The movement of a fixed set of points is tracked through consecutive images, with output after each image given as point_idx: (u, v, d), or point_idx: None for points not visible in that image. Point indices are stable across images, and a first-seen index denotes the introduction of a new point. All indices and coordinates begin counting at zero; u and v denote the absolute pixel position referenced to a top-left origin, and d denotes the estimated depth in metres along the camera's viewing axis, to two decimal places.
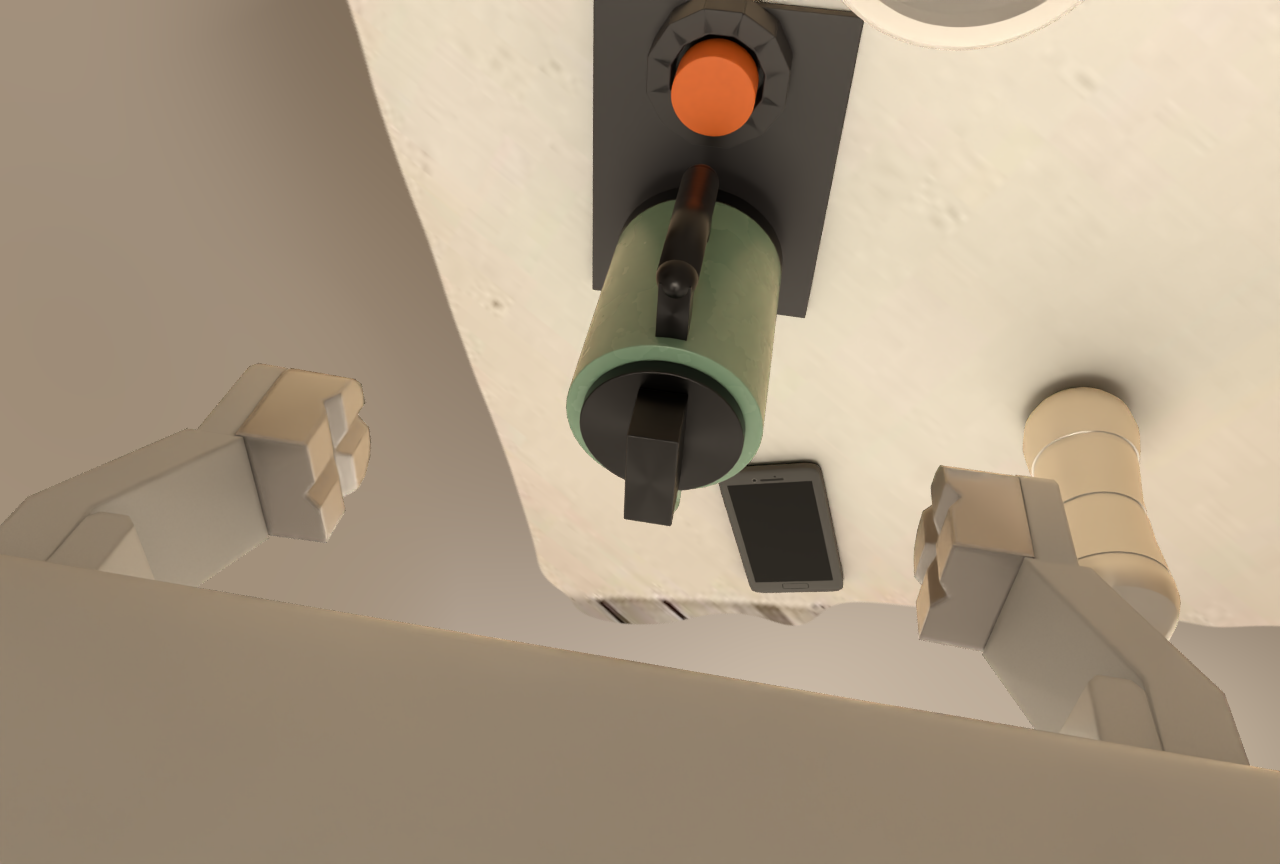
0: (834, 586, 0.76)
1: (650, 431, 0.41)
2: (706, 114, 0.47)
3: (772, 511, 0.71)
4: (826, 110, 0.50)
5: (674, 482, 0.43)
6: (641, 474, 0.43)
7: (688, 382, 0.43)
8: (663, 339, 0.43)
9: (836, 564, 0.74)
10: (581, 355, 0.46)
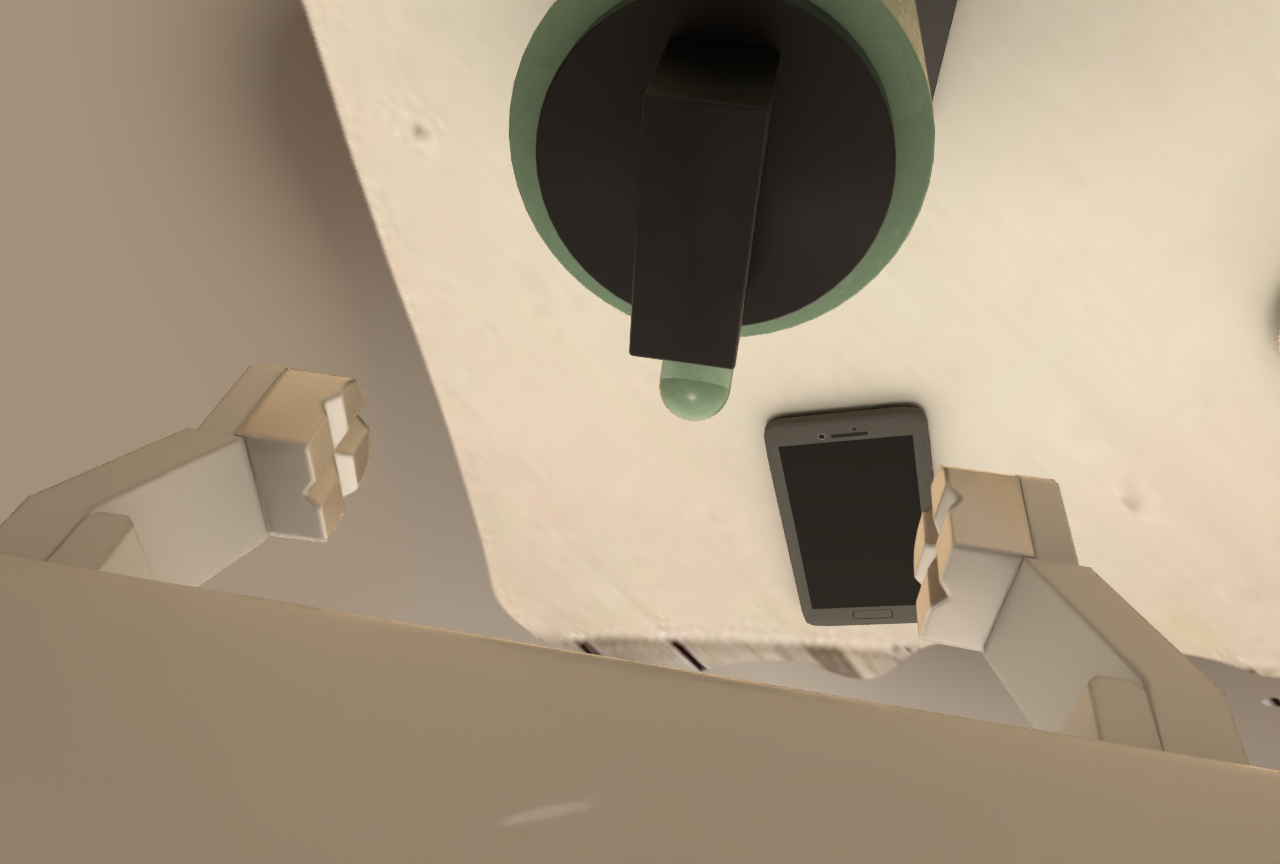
0: None
1: (700, 91, 0.17)
2: None
3: (846, 490, 0.47)
4: None
5: (750, 241, 0.18)
6: (674, 219, 0.18)
7: (781, 11, 0.19)
8: None
9: None
10: None
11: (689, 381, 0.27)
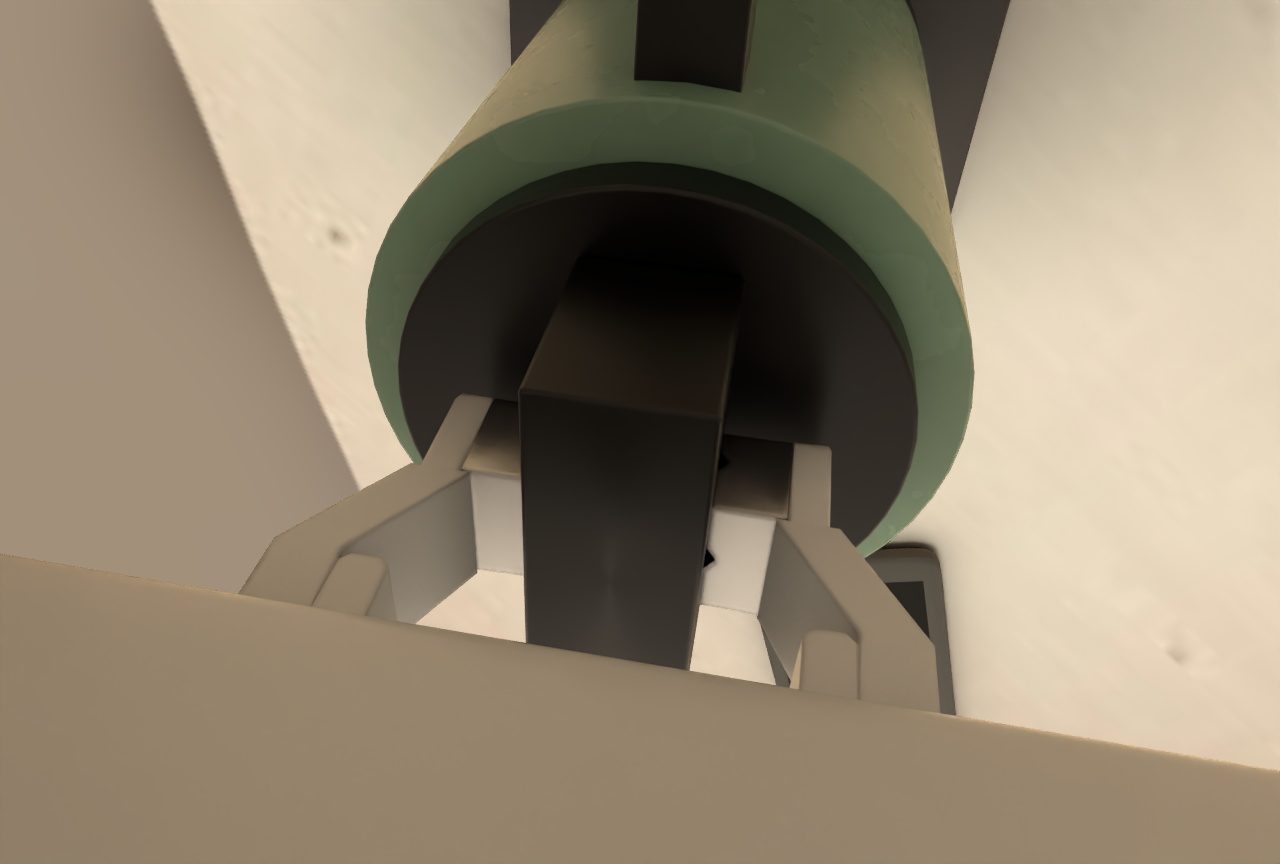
0: None
1: (610, 378, 0.11)
2: None
3: None
4: None
5: (697, 580, 0.12)
6: (579, 549, 0.12)
7: (746, 224, 0.12)
8: (661, 84, 0.12)
9: None
10: None
11: None
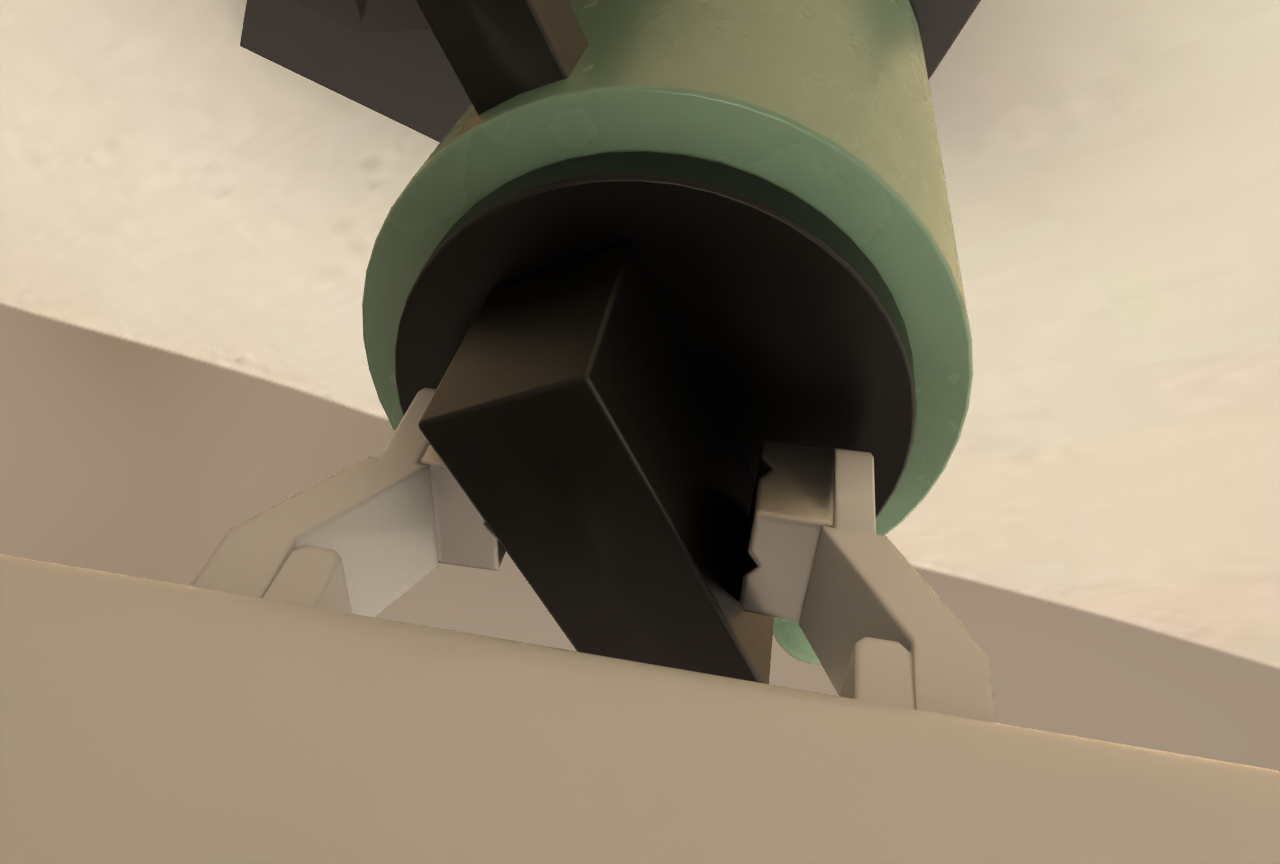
0: None
1: (494, 381, 0.11)
2: None
3: None
4: None
5: (679, 541, 0.12)
6: (561, 552, 0.12)
7: (605, 191, 0.12)
8: (496, 106, 0.13)
9: None
10: None
11: None
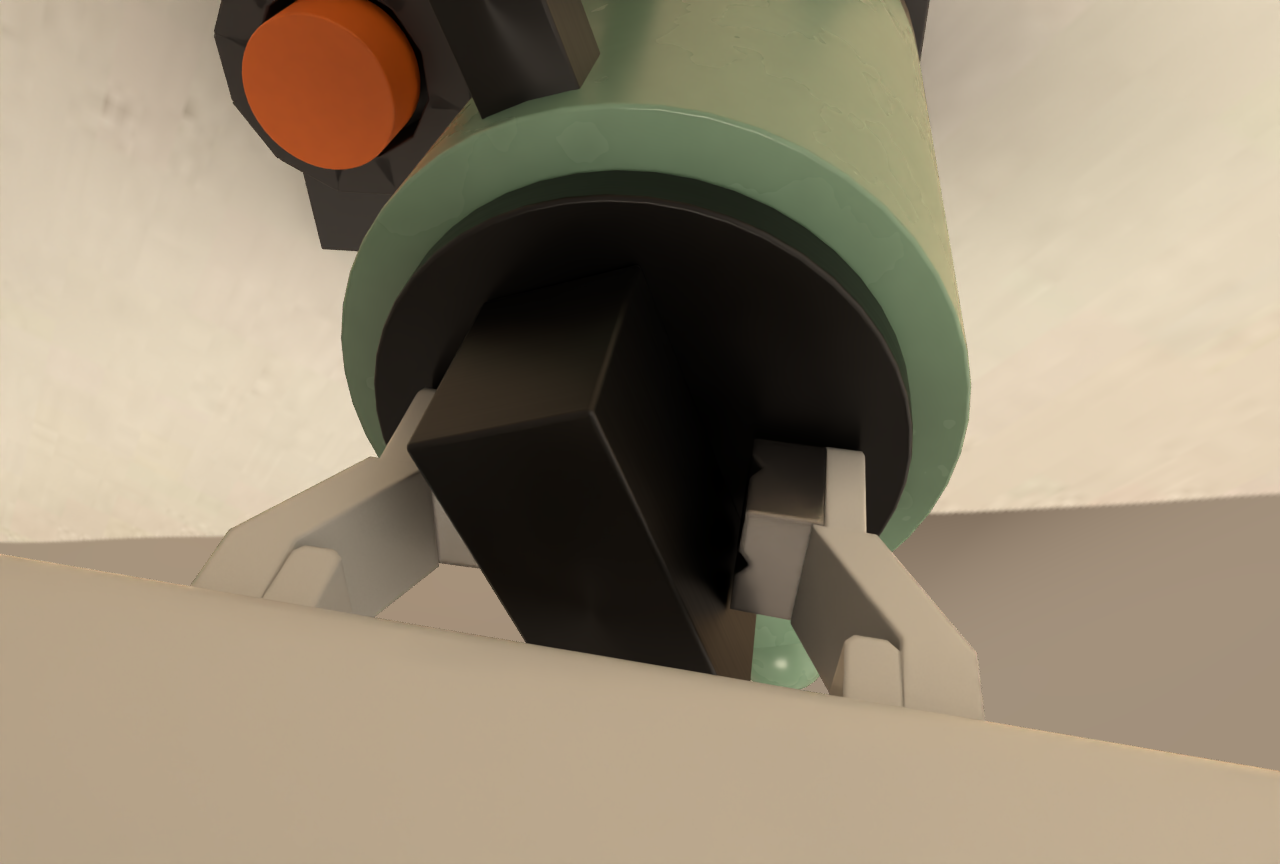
0: None
1: (490, 407, 0.10)
2: (352, 106, 0.25)
3: None
4: None
5: (670, 583, 0.11)
6: (546, 585, 0.11)
7: (613, 211, 0.12)
8: (502, 112, 0.12)
9: None
10: None
11: (766, 649, 0.19)
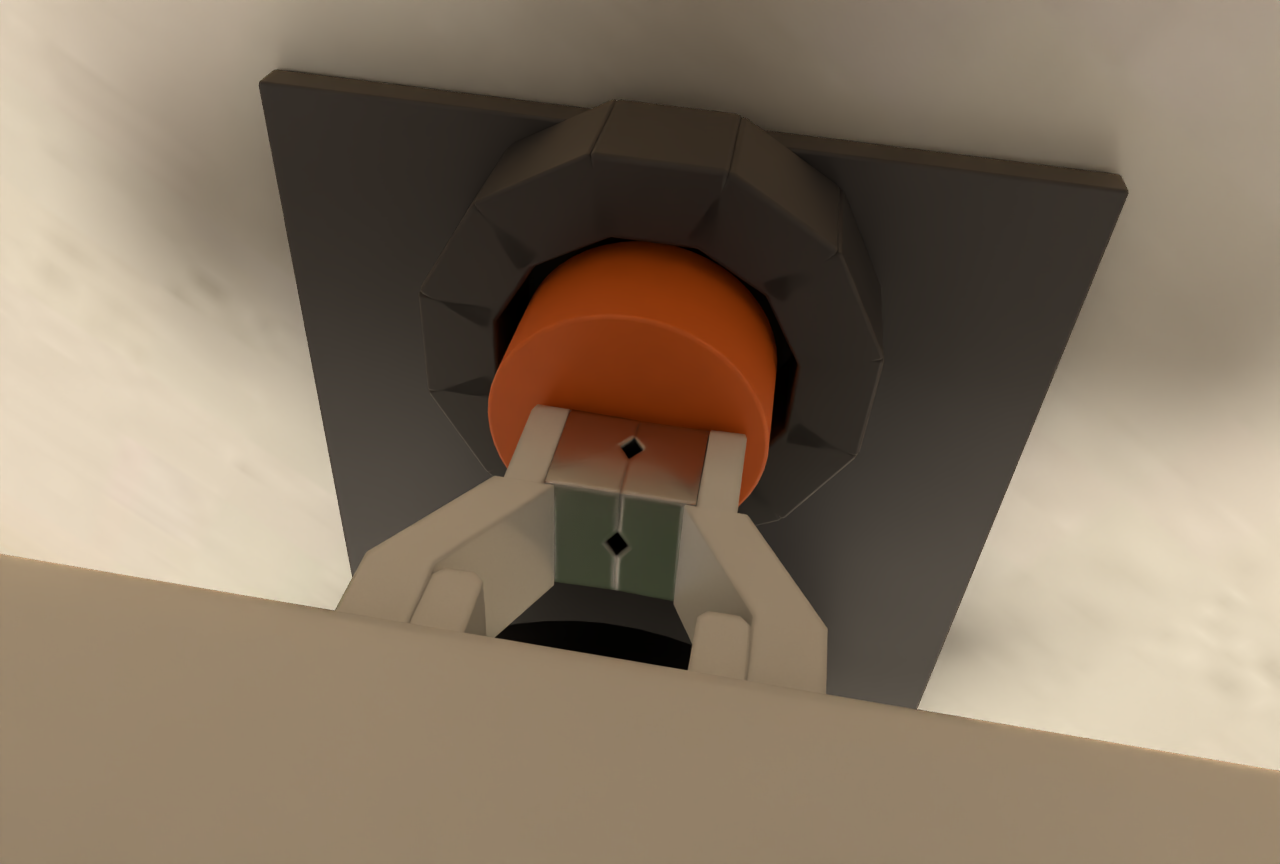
0: None
1: None
2: None
3: None
4: (969, 437, 0.17)
5: None
6: None
7: None
8: None
9: None
10: None
11: None
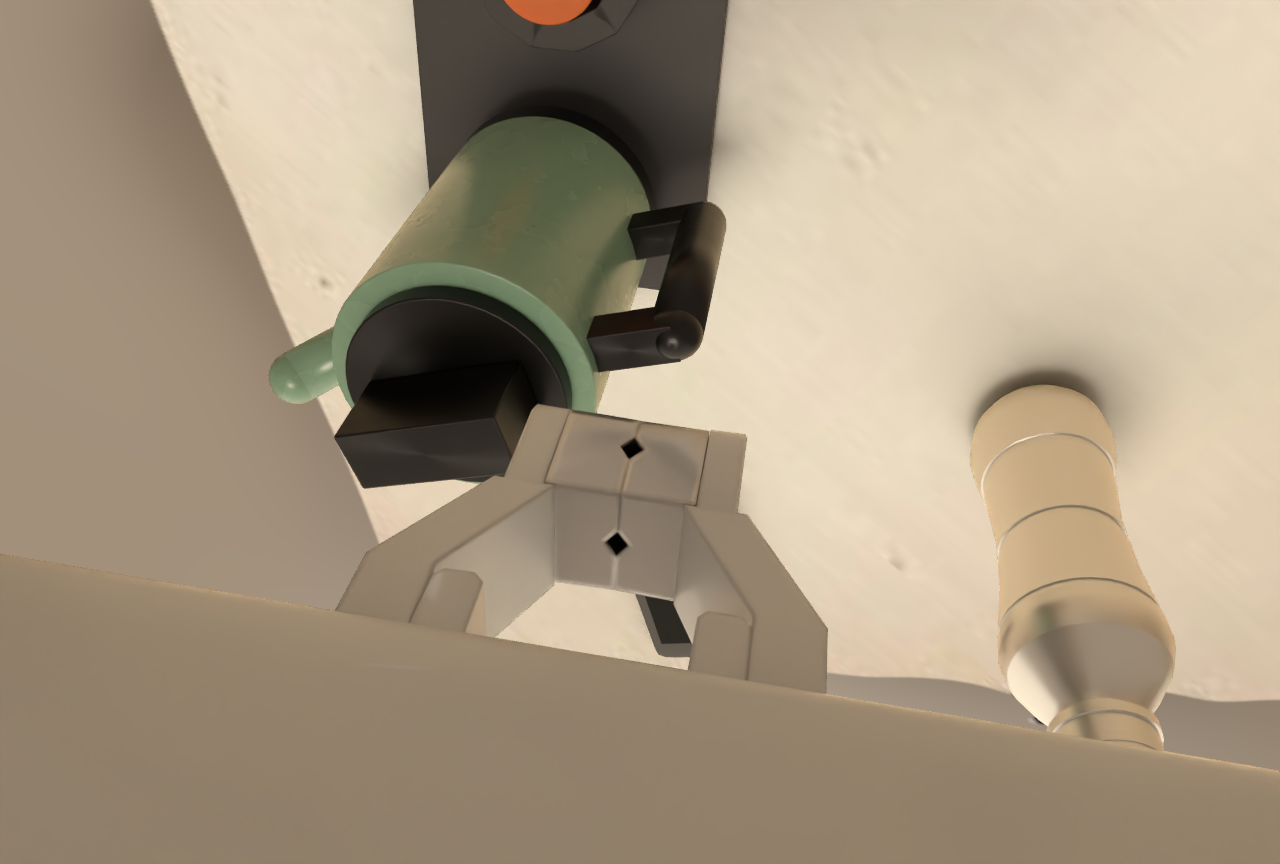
0: None
1: (508, 432, 0.30)
2: None
3: None
4: (702, 6, 0.39)
5: (444, 479, 0.31)
6: (434, 443, 0.30)
7: None
8: (590, 351, 0.32)
9: None
10: (481, 237, 0.32)
11: (302, 383, 0.36)
